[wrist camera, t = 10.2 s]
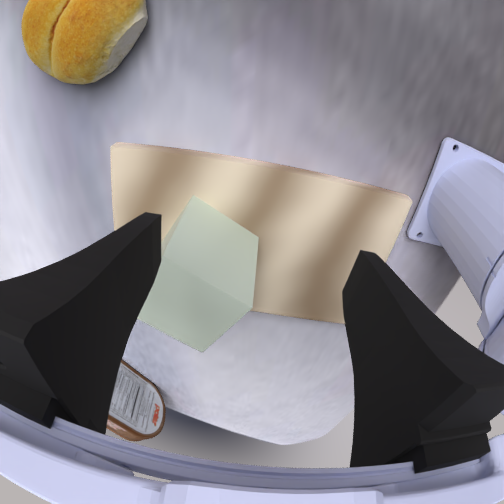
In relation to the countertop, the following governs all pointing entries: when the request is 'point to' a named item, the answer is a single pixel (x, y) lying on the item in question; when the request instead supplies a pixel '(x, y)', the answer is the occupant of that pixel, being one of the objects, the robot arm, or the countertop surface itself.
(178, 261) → the pale green block
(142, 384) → the tin
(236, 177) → the board
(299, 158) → the countertop surface
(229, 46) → the countertop surface
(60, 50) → the bread roll
